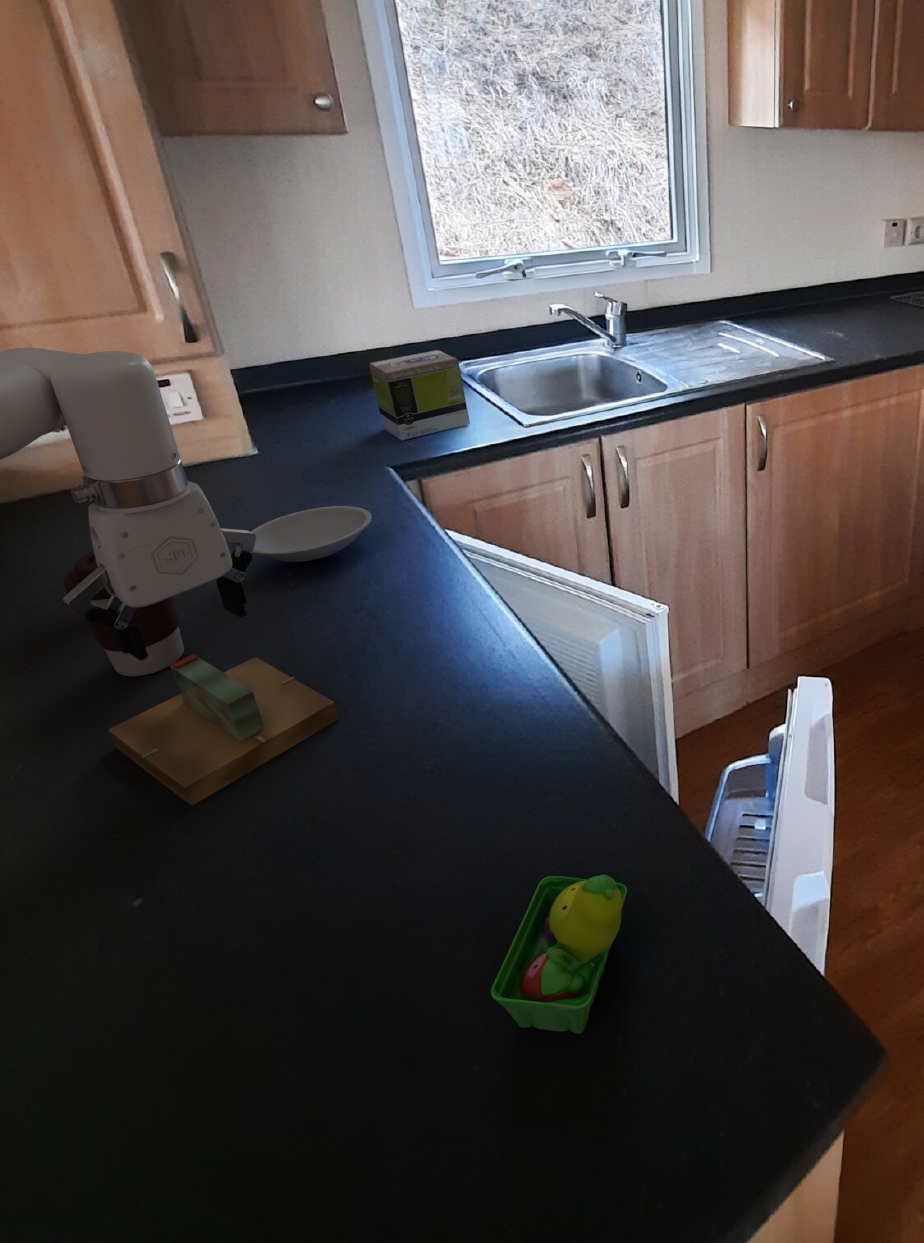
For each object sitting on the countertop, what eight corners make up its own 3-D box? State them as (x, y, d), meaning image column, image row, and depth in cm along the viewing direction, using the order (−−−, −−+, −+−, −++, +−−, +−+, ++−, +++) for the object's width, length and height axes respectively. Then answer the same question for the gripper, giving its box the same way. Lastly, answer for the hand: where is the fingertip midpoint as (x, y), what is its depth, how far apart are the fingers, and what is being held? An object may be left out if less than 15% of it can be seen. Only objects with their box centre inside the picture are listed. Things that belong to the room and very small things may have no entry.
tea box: (451, 413, 191) (439, 348, 184) (470, 425, 184) (459, 358, 178) (382, 429, 182) (367, 360, 175) (400, 442, 175) (385, 371, 169)
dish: (361, 524, 142) (354, 496, 140) (391, 556, 133) (385, 527, 130) (241, 557, 132) (232, 528, 130) (264, 595, 122) (255, 564, 120)
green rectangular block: (265, 728, 93) (252, 689, 91) (240, 741, 91) (226, 702, 89) (207, 690, 99) (193, 652, 96) (183, 702, 97) (168, 664, 95)
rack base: (191, 807, 86) (183, 787, 85) (113, 747, 94) (105, 728, 93) (340, 719, 99) (335, 700, 97) (261, 672, 106) (255, 655, 105)
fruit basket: (548, 914, 76) (533, 820, 71) (647, 924, 75) (638, 829, 70) (496, 1041, 65) (473, 942, 60) (609, 1054, 65) (596, 955, 60)
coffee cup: (83, 673, 105) (37, 567, 99) (162, 631, 114) (124, 531, 107) (138, 693, 102) (94, 584, 96) (215, 648, 111) (180, 545, 104)
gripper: (49, 526, 74) (112, 687, 82) (252, 464, 87) (289, 608, 95) (12, 504, 77) (75, 660, 85) (212, 448, 91) (251, 588, 98)
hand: (188, 633), depth 90 cm, fingers open, 9 cm apart
